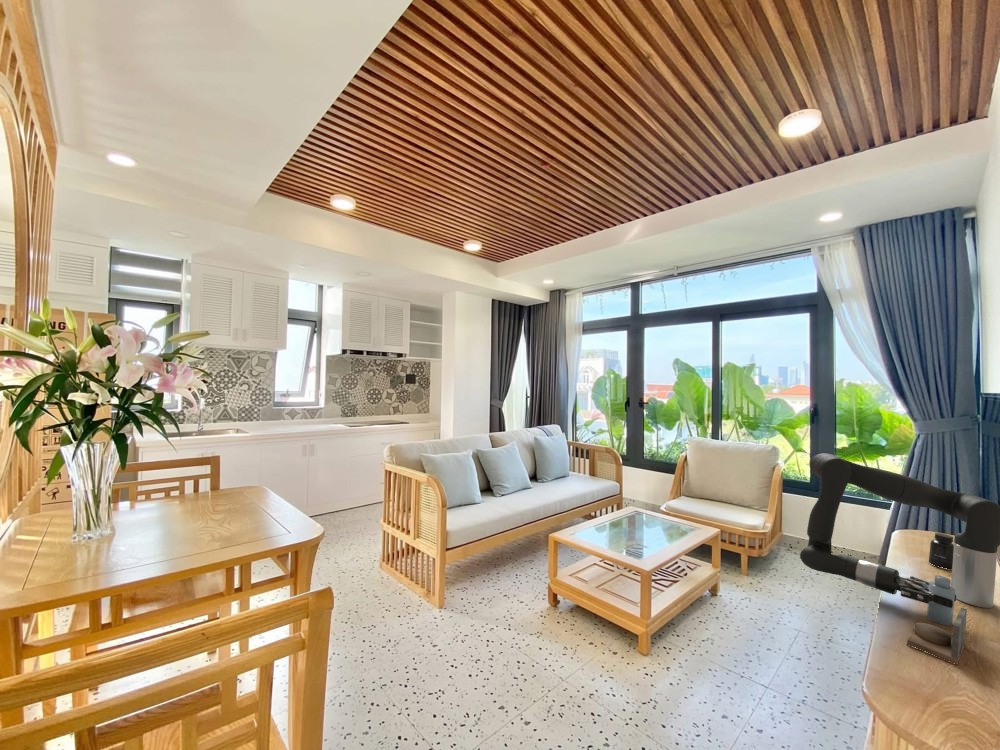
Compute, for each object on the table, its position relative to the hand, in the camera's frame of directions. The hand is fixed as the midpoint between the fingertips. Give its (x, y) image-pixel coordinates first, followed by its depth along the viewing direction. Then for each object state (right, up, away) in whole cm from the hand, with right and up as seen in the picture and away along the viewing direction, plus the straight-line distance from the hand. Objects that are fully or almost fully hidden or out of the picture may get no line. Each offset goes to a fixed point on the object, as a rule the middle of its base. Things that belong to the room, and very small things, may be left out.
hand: (954, 601), depth 122 cm
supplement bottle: (+37, -8, +40) cm, 55 cm away
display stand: (-15, -6, -10) cm, 19 cm away
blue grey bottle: (-2, -7, +2) cm, 7 cm away
